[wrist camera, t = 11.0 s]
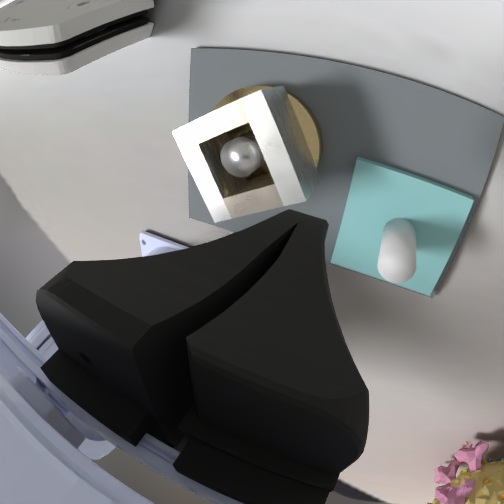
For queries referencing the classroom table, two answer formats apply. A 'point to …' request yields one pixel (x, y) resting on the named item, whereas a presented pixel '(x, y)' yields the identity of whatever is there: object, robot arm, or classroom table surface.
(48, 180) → the classroom table surface
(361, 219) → the stand
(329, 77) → the board
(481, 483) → the educational model
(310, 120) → the hub
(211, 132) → the hollow square metal tube
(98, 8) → the hinge
